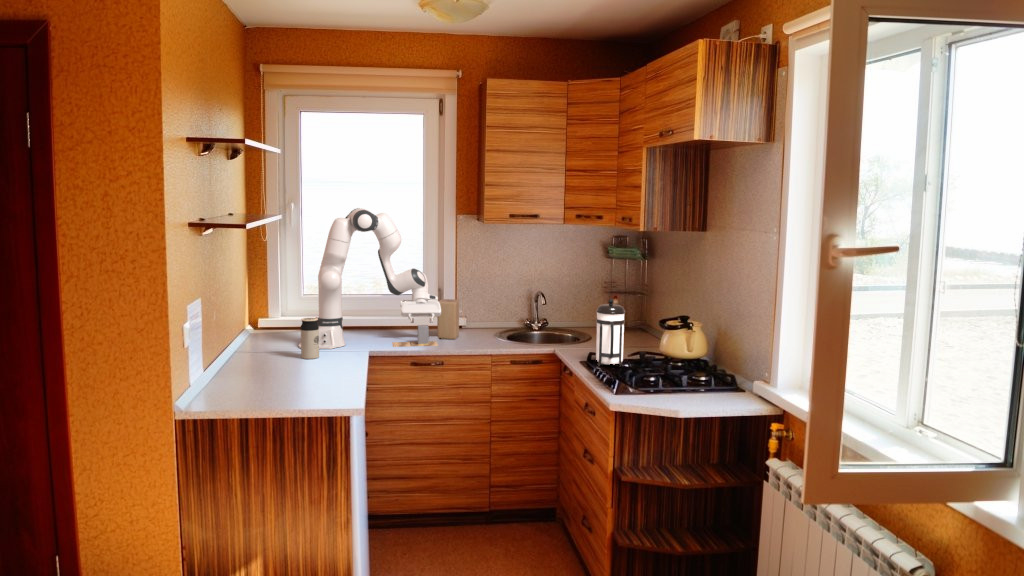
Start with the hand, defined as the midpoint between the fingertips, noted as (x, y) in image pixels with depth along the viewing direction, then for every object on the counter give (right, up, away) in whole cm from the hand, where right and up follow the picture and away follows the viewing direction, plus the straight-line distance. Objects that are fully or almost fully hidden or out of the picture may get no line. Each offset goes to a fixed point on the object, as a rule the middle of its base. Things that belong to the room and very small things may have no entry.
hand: (421, 322), depth 383 cm
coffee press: (+89, -18, -43) cm, 101 cm away
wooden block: (+12, -9, +21) cm, 26 cm away
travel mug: (-47, -15, -33) cm, 59 cm away
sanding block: (+1, -10, -5) cm, 11 cm away
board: (-3, -12, -5) cm, 13 cm away
